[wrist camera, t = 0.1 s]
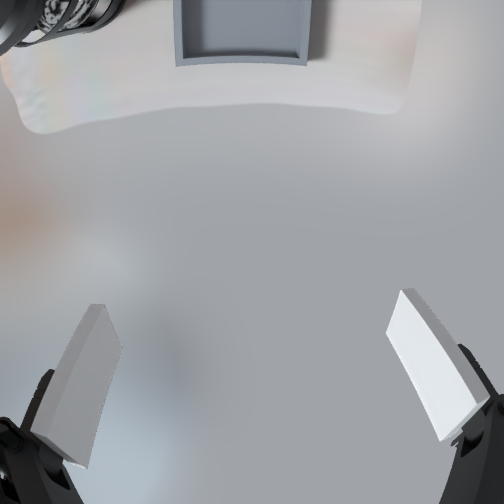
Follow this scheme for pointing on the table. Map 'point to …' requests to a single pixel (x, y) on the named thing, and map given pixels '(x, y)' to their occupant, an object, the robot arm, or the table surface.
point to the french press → (49, 19)
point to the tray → (241, 31)
